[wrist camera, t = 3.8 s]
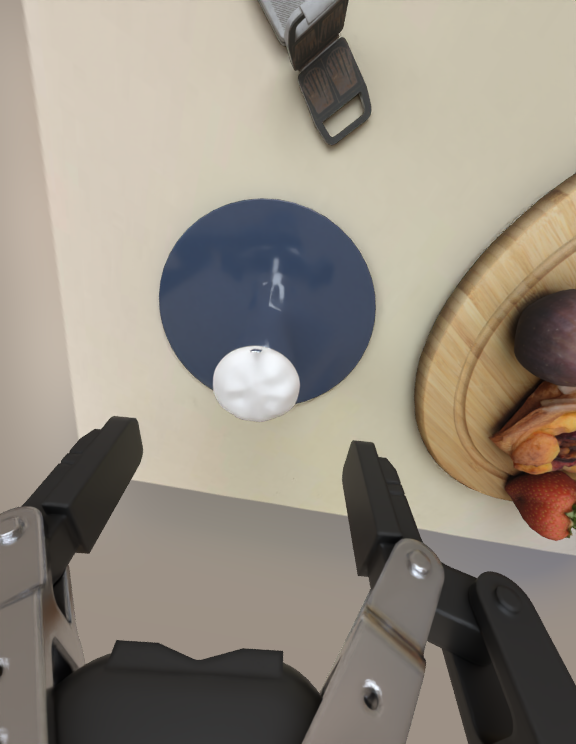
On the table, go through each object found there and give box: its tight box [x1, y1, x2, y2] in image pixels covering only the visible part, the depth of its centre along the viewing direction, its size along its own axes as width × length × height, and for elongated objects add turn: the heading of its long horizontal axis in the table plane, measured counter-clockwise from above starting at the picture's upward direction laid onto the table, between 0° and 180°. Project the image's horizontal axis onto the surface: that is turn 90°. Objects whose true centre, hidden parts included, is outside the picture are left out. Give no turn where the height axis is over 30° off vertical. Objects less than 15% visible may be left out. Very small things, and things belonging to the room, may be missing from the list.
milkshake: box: [213, 307, 300, 422], centre depth 18 cm, size 4×5×10 cm
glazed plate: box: [159, 198, 376, 404], centre depth 23 cm, size 16×16×1 cm
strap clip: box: [258, 0, 371, 145], centre depth 13 cm, size 8×3×4 cm, turn 33°
